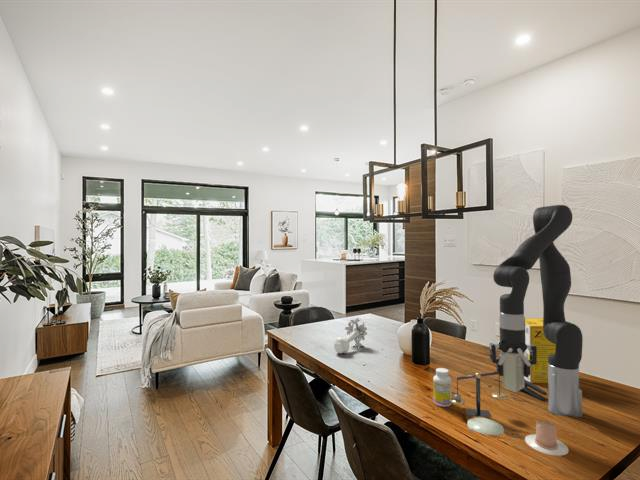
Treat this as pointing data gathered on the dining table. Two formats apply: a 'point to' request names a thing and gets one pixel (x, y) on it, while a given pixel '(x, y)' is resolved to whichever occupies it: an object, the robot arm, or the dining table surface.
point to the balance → (477, 395)
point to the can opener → (534, 389)
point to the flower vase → (350, 337)
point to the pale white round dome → (485, 426)
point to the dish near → (559, 451)
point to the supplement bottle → (442, 388)
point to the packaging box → (538, 350)
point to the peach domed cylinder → (546, 435)
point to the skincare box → (513, 372)
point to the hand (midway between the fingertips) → (513, 375)
